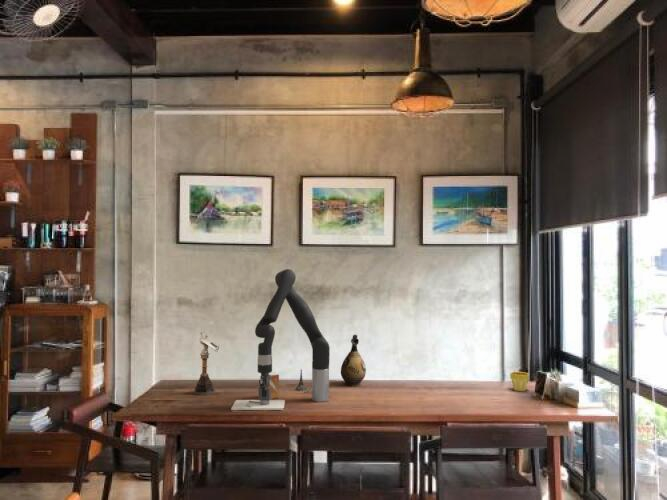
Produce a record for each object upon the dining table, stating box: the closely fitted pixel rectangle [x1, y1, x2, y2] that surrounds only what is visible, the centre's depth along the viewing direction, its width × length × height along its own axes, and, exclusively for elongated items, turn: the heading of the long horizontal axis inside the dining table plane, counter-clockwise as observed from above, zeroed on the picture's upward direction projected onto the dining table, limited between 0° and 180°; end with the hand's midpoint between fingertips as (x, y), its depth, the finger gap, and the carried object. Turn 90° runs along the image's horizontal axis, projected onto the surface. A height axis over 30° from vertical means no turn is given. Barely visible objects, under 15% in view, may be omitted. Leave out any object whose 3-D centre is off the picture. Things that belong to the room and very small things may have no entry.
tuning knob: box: [249, 387, 272, 405], centre depth 290 cm, size 12×5×8 cm, turn 74°
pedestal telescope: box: [193, 332, 220, 396], centre depth 320 cm, size 17×13×35 cm
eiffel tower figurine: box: [294, 369, 312, 394], centre depth 327 cm, size 15×10×13 cm
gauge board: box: [230, 399, 286, 411], centre depth 290 cm, size 26×16×2 cm, turn 91°
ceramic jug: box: [340, 334, 367, 387], centre depth 342 cm, size 17×15×30 cm
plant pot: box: [509, 371, 530, 392], centre depth 328 cm, size 10×10×10 cm
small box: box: [268, 372, 280, 400], centre depth 309 cm, size 8×6×13 cm
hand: (264, 396), depth 290 cm, fingers closed on tuning knob, 2 cm apart
